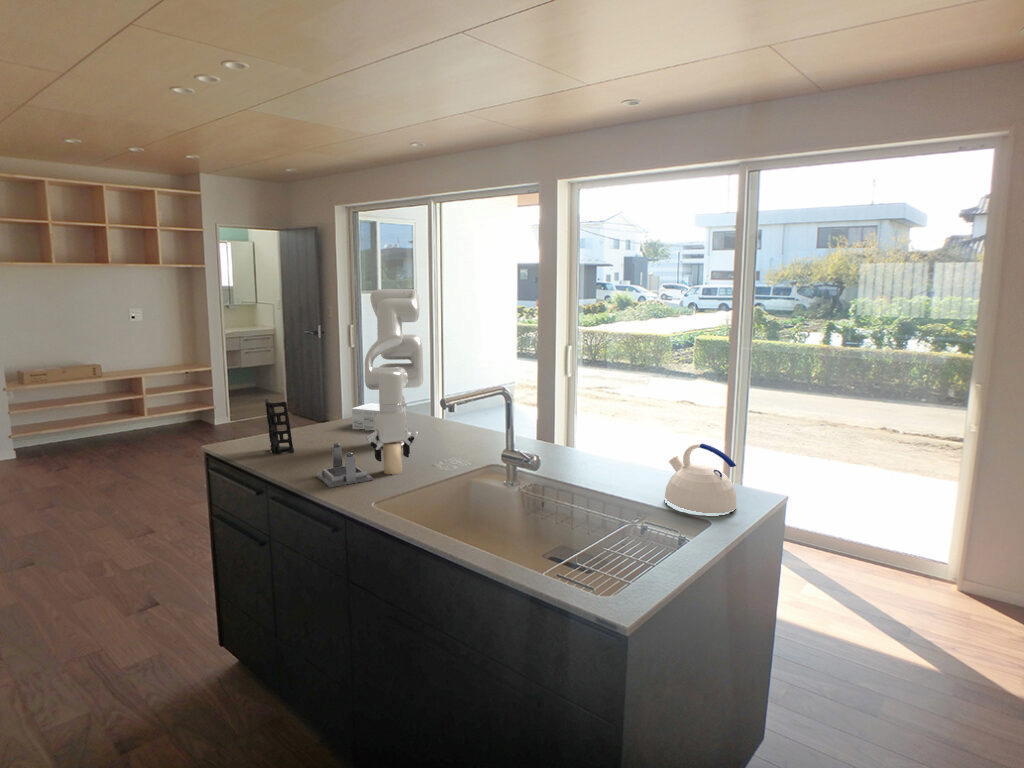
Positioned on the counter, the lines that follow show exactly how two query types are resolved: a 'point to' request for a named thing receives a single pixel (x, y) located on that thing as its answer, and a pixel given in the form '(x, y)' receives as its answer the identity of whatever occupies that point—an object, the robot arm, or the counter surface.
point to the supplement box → (365, 416)
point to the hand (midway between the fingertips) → (392, 458)
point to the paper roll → (392, 458)
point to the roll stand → (342, 470)
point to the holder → (273, 427)
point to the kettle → (701, 484)
